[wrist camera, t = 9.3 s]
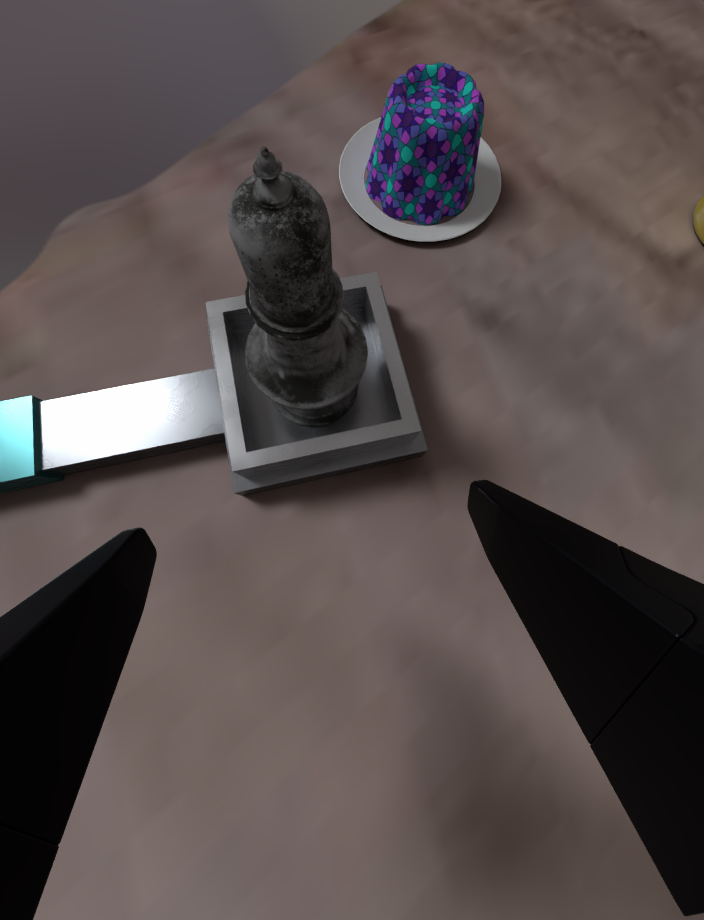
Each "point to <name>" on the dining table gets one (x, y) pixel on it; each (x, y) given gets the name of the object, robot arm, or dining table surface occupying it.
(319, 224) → the chess piece
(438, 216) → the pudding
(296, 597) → the dining table surface
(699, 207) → the plant pot
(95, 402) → the square frying pan
